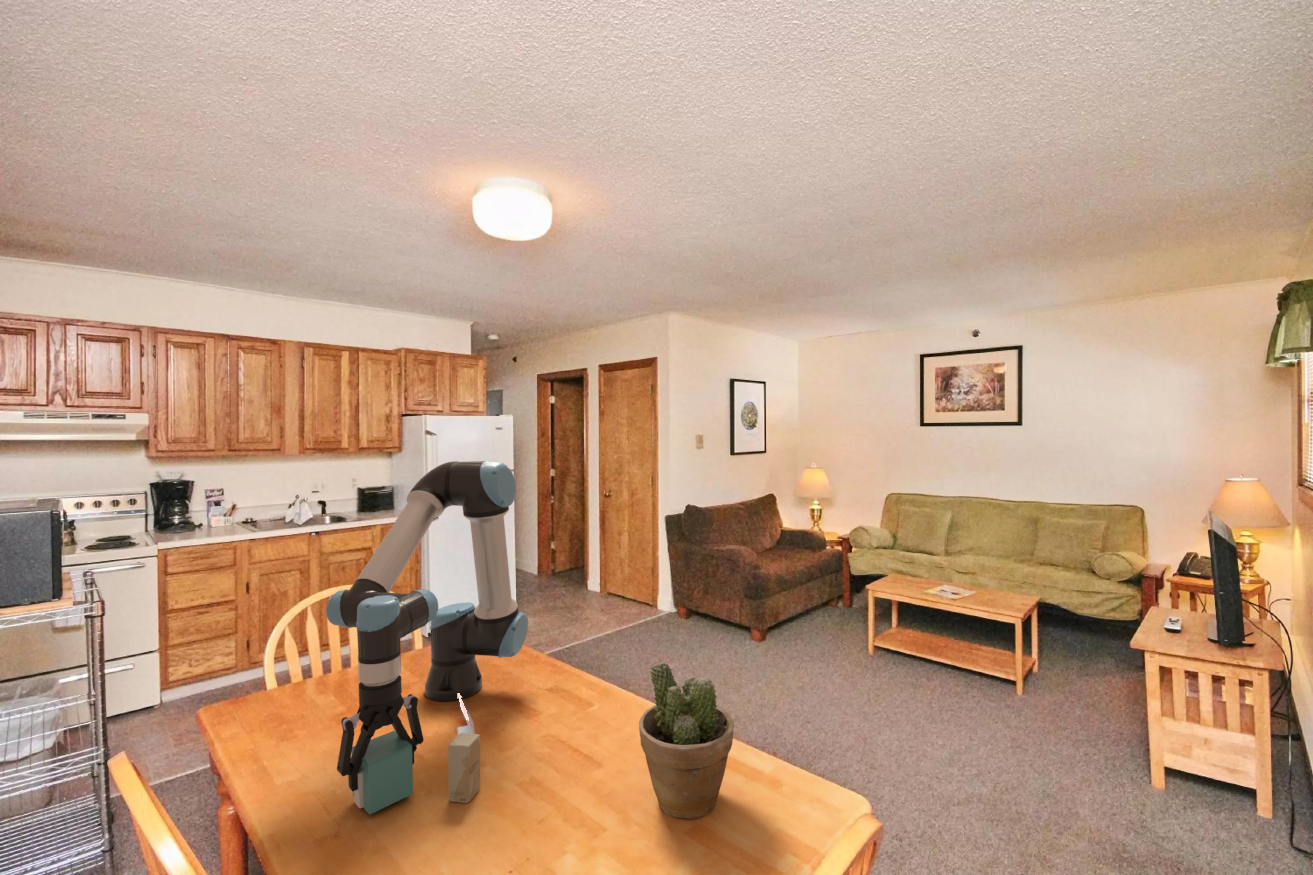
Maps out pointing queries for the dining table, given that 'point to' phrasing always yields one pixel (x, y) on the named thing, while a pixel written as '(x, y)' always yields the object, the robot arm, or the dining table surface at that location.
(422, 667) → the dining table surface
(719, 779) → the potted plant
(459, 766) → the box
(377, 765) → the teal block
